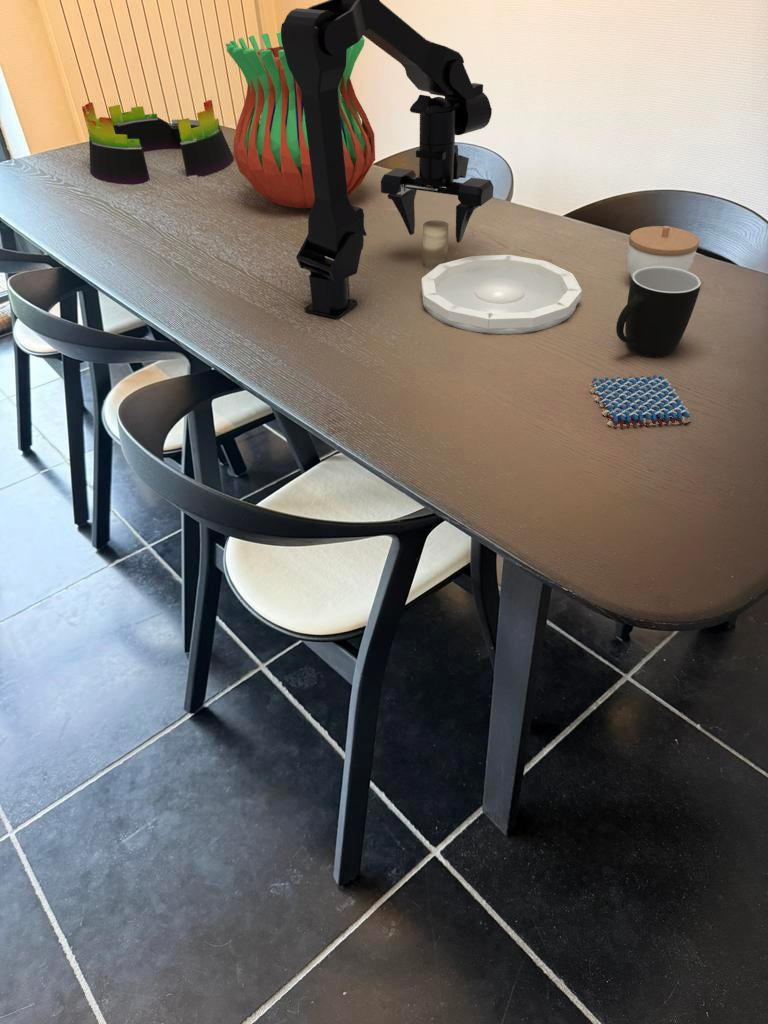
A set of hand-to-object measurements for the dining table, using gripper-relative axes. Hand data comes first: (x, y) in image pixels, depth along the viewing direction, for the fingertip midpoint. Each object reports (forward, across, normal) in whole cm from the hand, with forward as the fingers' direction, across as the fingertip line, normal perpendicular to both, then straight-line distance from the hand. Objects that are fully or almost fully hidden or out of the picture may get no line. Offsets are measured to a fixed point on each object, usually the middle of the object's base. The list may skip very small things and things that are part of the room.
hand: (435, 238), depth 125 cm
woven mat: (+6, -44, +31) cm, 54 cm away
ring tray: (+5, -16, +9) cm, 19 cm away
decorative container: (+5, +94, -31) cm, 99 cm away
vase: (+5, +42, -22) cm, 48 cm away
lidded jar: (+5, -37, -8) cm, 38 cm away
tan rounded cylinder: (+5, 0, 0) cm, 5 cm away
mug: (+5, -41, +16) cm, 44 cm away
